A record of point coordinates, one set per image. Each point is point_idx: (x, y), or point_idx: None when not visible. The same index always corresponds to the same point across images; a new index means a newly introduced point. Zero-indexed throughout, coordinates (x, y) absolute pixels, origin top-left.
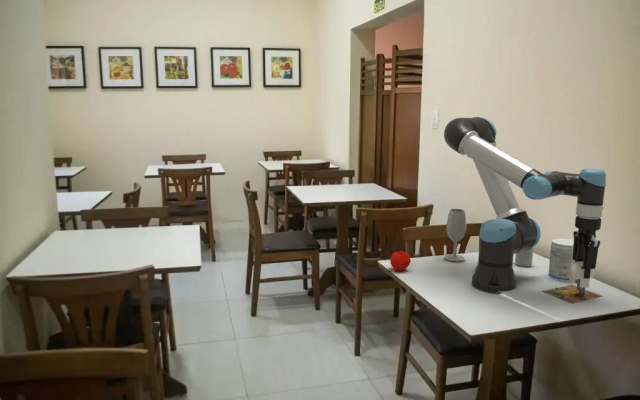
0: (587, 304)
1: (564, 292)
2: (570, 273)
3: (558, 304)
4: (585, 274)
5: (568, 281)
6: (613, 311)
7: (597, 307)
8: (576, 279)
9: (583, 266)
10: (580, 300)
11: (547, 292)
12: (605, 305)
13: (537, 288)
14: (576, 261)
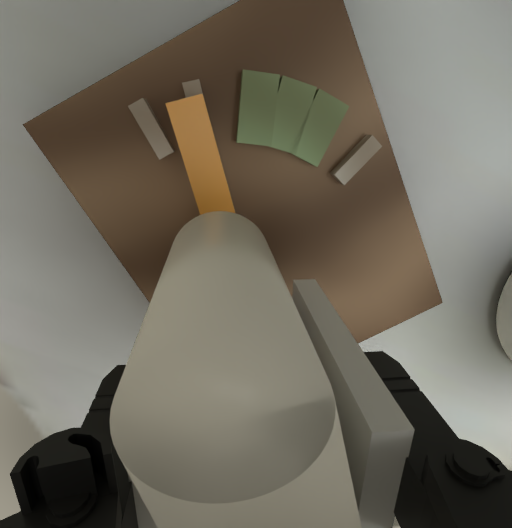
0: (111, 267)
1: (172, 118)
2: (228, 228)
3: (67, 16)
4: (99, 409)
5: (504, 309)
6: (9, 373)
7: (63, 309)
8: (300, 308)
9: (70, 509)
10: (118, 230)
11: (294, 5)
12: (112, 369)
13: (458, 3)
14: (444, 487)
